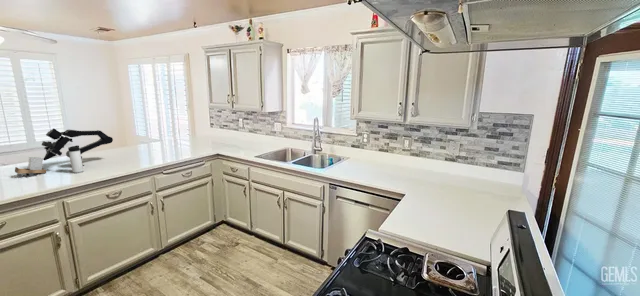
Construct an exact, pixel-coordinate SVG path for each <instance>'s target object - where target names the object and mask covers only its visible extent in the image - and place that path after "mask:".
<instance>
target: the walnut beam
mask: <svg viewBox="0 0 640 296" xmlns="http://www.w3.org/2000/svg"><path fill="white" fill-rule="evenodd" d="M14 172H15V173H16V174H24V173H35V174H42V173H43V174H46V173H47V169H44V168H43V167H42V170H28V167H27V168H19V167H15V168H14Z"/></svg>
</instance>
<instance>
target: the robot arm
mask: <svg viewBox="0 0 640 296" xmlns="http://www.w3.org/2000/svg"><path fill="white" fill-rule="evenodd" d="M45 135H46V137H49V138H51V139H52V140H54V142H52V141H49V140H48V141H44V140H42V142H41V146H43V147H44V148H43V149H44V150H45V152H46V153H45V155H44V157H43V161H47V160H50V159H52V158H54V157H56V156H62V155H63V152H62V151H61V150H63V149H64V148H65V146H66V145H67V144H68V142H69V143H73V142H74V141H73V138H76V137H77V138H78V137H81V136H84V137H85V136H97V137H99V139H98V140H96V141H95V142H94V141H93V142H92V143H89V144H86V145H84V146H81V147H79V149H80V154H81V160H82V159H83V156H82V154H83V153H86V152H88V151H90V150H92V149H95V148H98V147H100V146H105V145H109V144H111V143H112V142H113V140H114V139H113V137H112V136H109V135H107V134H106V133H104V132H103V131H102V130H98V129H96V130H75V129H66V130H65V131H59V130H57V129H55V128H52V129H50V130H48V131H47V133H46V134H45ZM55 140H56V141H55ZM65 155H66V157H68V158H70V156H69V150H67V151H66V153H65ZM82 161H83V160H82ZM82 165H83V166H85V164H84V163H82ZM70 168H72V166H71V165H70Z"/></svg>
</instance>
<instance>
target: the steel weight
mask: <svg viewBox="0 0 640 296" xmlns="http://www.w3.org/2000/svg"><path fill="white" fill-rule="evenodd" d="M43 159H44V157H43V158H42V157H40V156H38V157H37V156H34V157H33V156H31V157H29V156H28V162H27V163H28V165H27V168H28V170H42V168H43V162H44V160H43Z"/></svg>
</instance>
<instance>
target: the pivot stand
mask: <svg viewBox="0 0 640 296" xmlns="http://www.w3.org/2000/svg"><path fill="white" fill-rule="evenodd" d="M42 174H44V173H41V175H42ZM16 176H17V178H19V179H22V178H23V176H25V177H26V178H31V177H32V178H33V177H37V176H38V175H37V173H20V174H18V173H16Z"/></svg>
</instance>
